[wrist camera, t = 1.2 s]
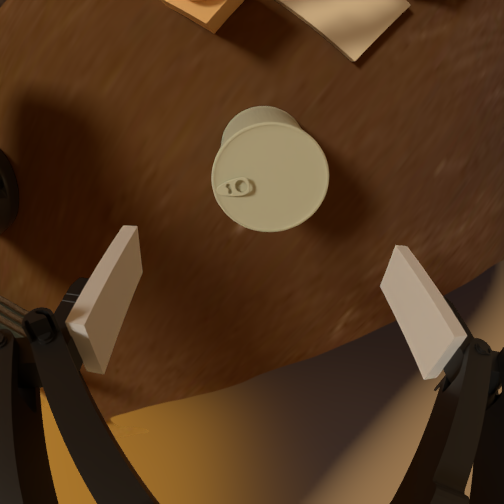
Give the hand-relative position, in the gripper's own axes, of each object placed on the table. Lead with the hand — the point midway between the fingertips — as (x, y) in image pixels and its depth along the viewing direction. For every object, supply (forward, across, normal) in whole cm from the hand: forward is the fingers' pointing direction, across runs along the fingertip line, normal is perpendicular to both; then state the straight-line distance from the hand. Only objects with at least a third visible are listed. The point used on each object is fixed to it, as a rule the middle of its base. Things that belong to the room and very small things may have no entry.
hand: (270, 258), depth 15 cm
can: (+22, +1, 0) cm, 22 cm away
